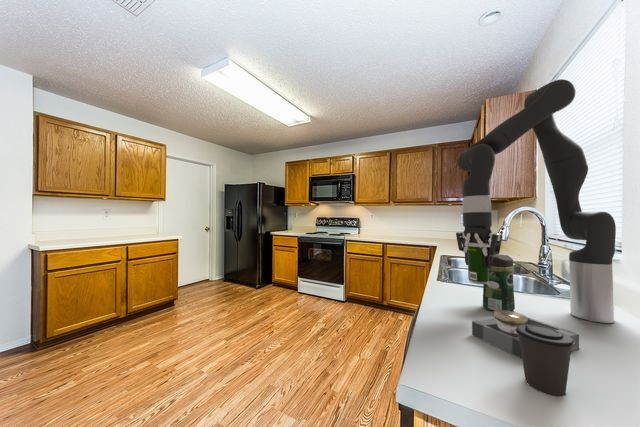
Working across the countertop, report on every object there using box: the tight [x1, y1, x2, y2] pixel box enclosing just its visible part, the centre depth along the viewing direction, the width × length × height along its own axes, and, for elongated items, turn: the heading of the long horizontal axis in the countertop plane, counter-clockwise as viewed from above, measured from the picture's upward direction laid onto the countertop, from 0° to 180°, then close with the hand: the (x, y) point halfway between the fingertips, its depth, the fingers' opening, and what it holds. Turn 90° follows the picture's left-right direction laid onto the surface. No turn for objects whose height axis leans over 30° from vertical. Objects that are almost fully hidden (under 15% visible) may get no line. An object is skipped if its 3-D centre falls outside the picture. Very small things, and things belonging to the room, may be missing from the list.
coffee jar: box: [482, 253, 516, 313], centre depth 85 cm, size 10×8×19 cm
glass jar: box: [493, 310, 528, 338], centre depth 60 cm, size 6×6×7 cm
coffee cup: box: [515, 325, 576, 397], centre depth 45 cm, size 8×8×10 cm
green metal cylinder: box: [467, 242, 489, 285], centre depth 76 cm, size 5×5×12 cm
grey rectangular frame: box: [471, 316, 580, 360], centre depth 61 cm, size 17×13×4 cm
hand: (478, 266), depth 76 cm, fingers closed on green metal cylinder, 5 cm apart
